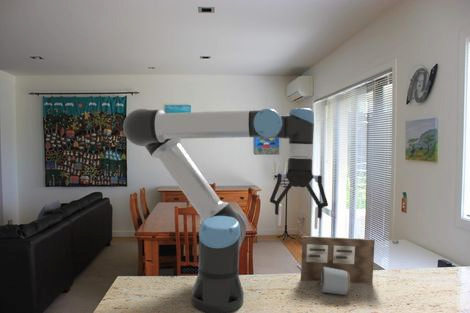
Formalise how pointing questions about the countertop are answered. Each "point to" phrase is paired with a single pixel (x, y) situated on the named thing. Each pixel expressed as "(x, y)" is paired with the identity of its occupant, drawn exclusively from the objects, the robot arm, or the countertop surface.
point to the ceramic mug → (335, 281)
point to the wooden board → (337, 257)
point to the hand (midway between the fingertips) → (297, 226)
